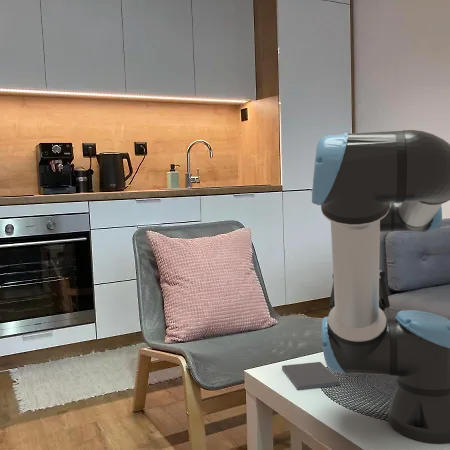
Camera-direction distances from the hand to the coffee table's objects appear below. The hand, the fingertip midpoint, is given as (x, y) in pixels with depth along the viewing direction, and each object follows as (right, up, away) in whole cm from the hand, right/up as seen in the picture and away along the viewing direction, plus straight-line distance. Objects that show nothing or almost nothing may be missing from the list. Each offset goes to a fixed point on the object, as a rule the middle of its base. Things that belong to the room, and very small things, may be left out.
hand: (359, 335), depth 134 cm
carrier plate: (-13, -11, -1) cm, 17 cm away
